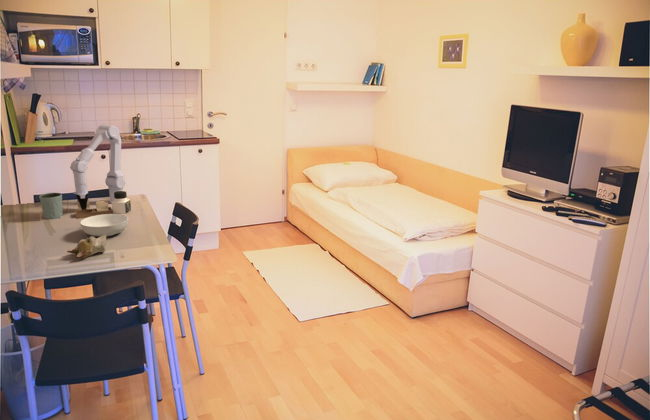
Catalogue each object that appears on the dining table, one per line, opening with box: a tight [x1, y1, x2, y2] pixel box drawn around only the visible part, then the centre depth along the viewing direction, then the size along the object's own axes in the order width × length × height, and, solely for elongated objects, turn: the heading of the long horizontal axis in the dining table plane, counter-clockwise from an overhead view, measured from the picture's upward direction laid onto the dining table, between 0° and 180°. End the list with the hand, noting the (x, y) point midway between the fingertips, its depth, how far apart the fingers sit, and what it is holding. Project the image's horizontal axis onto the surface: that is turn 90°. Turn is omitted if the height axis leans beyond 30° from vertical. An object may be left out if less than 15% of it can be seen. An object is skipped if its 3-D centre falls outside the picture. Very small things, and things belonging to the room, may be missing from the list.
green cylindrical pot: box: [38, 192, 64, 220], centre depth 261 cm, size 10×10×12 cm
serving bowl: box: [79, 213, 130, 238], centre depth 240 cm, size 21×21×7 cm
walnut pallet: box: [74, 206, 113, 220], centre depth 267 cm, size 10×17×3 cm, turn 117°
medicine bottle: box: [111, 190, 132, 215], centre depth 271 cm, size 7×7×12 cm
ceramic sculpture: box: [66, 235, 107, 259], centre depth 214 cm, size 11×9×15 cm
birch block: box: [76, 198, 91, 210], centre depth 272 cm, size 4×6×6 cm
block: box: [95, 200, 109, 212], centre depth 268 cm, size 4×6×6 cm
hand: (83, 208), depth 272 cm, fingers closed on birch block, 4 cm apart
